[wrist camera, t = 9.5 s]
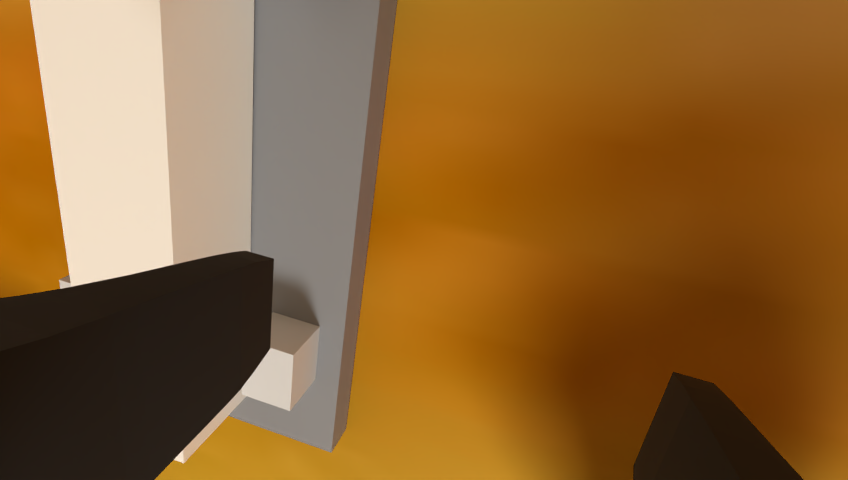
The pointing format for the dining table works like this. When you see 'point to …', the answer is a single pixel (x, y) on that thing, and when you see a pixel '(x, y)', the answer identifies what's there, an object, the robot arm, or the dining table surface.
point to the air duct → (149, 134)
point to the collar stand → (313, 201)
